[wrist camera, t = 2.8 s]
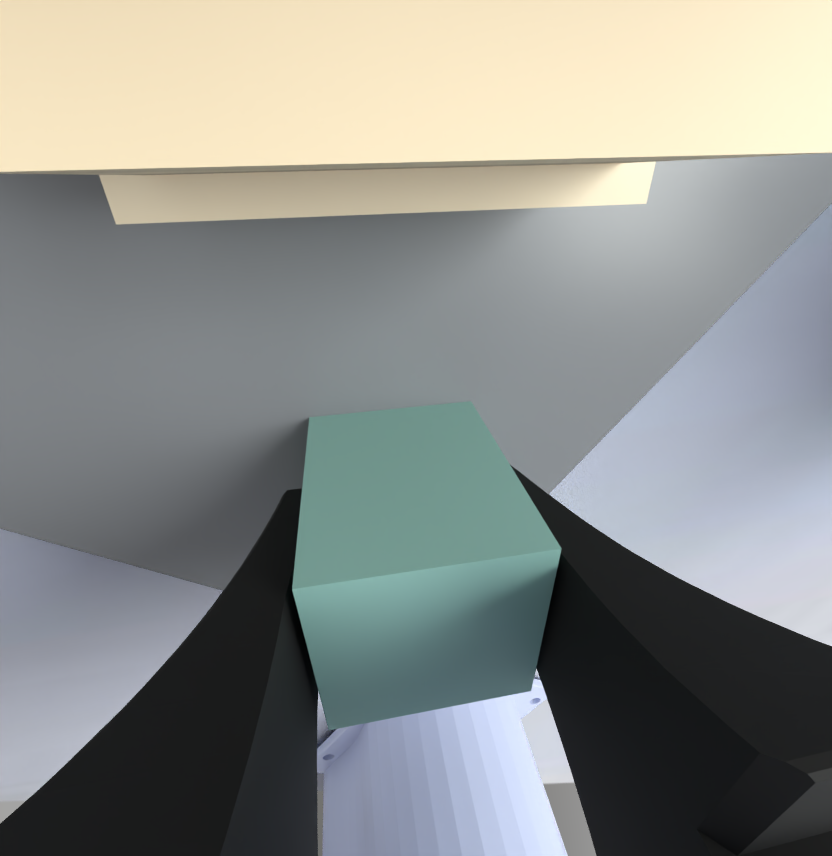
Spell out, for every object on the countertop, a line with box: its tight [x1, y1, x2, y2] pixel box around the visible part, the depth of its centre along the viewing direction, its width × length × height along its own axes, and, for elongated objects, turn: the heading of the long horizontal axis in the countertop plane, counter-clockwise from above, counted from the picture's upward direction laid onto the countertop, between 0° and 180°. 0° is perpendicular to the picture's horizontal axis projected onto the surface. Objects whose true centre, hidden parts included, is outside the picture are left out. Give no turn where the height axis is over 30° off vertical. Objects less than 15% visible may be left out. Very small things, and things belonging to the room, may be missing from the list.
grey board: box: [0, 153, 832, 591], centre depth 9 cm, size 20×17×1 cm
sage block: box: [292, 401, 561, 730], centre depth 9 cm, size 4×4×5 cm
